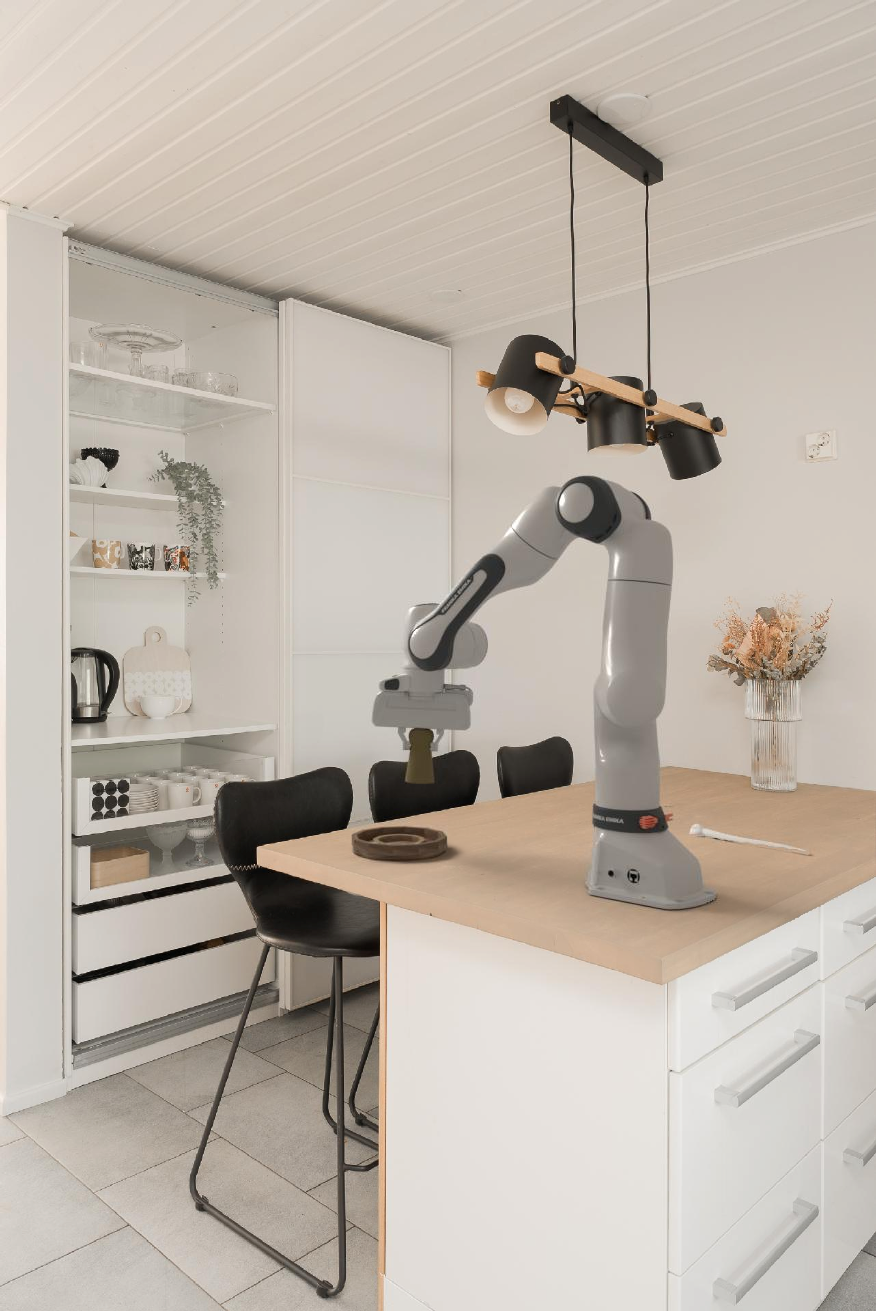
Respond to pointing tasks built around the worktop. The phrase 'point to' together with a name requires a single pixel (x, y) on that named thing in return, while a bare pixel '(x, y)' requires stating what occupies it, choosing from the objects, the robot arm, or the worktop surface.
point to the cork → (420, 757)
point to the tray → (399, 843)
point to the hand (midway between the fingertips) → (420, 750)
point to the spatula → (733, 837)
